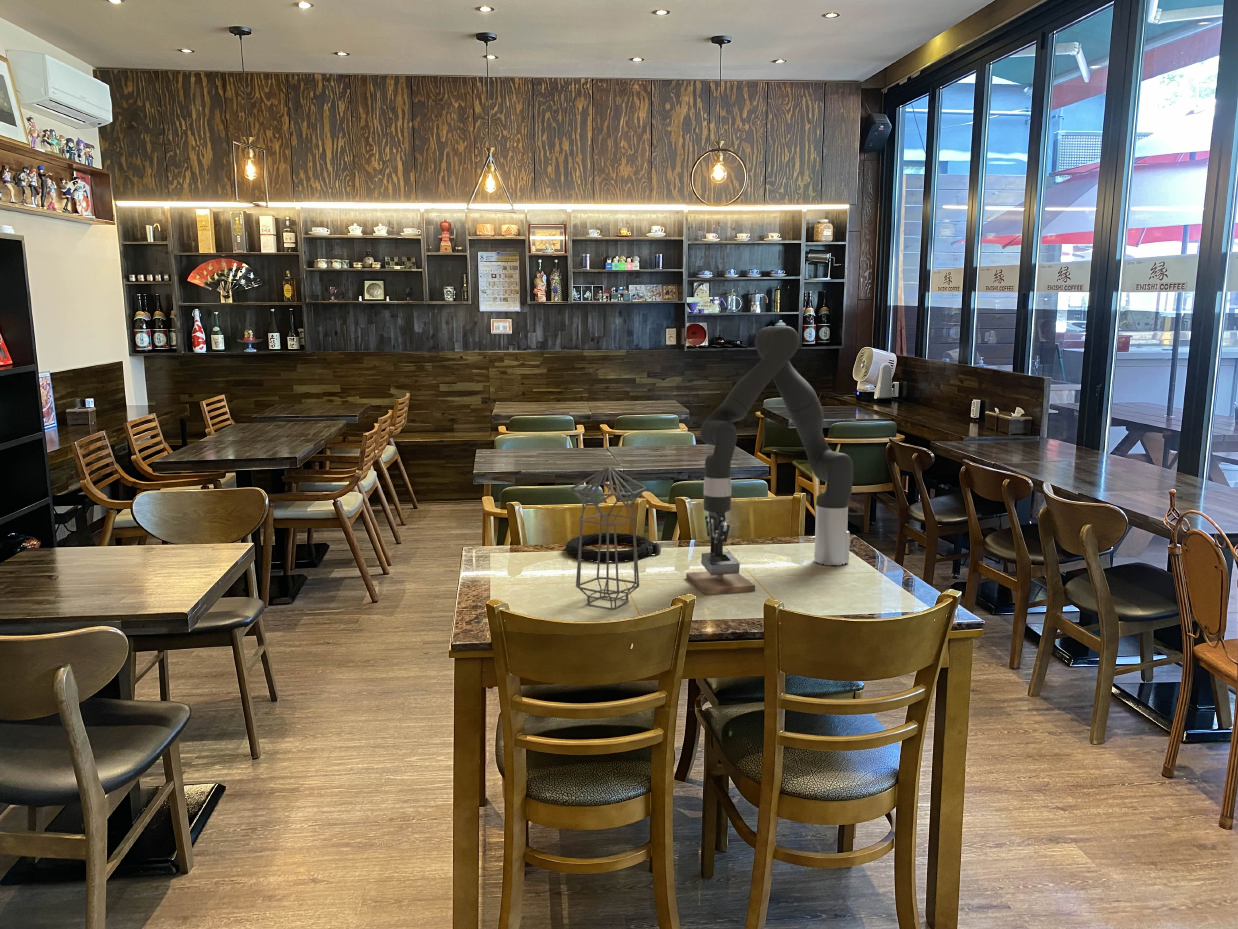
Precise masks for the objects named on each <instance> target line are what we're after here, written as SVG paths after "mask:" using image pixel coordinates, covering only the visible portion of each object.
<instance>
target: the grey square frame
mask: <svg viewBox="0 0 1238 929" xmlns="http://www.w3.org/2000/svg"><path fill="white" fill-rule="evenodd" d="M700 559H701V561H700V563H701V565H702V567H703V568H704V569H705V570H706V572H709V574H710V575H711V576H713V575H725V574H737V573H739V574H740V568H741V567H740V566H741V563H740V562H739V561H738V559H737V558H736V557H735V556H734V555H733V554H732V552H730V551H729V550H728V551H727V550H726V551H725V550H723V556H721V557H716V556H715V555H714V552H702V553H701V558H700Z"/></svg>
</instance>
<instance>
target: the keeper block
mask: <svg viewBox="0 0 1238 929" xmlns="http://www.w3.org/2000/svg"><path fill="white" fill-rule="evenodd" d="M685 574H686V575H685V576H686V577H685V578H686V579H687V580H688V581H689V582H690V583H691V584H692V585H693V586H695V587H696V589H698V590H699V591H700V592H701V593H703V594H704V595H718V594H731V593H732V594H733V593H744V592H745V593H747V592H756V585H755V583H753V582H751V581H750V580H749V579H747V578H746V577H745V576H743V575H742V574H740V572H739V573H737V574H725V575H713V576H711V575H710V574H709V572H708V571H696V572H686V573H685Z"/></svg>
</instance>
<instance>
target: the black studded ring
mask: <svg viewBox="0 0 1238 929" xmlns="http://www.w3.org/2000/svg"><path fill="white" fill-rule="evenodd" d="M579 539H580V535H578V536H576V537H574V538H571V539H570V540H568V541H567V543H566V544H565V551H566V553H567V555H569V556H570V555H571V556H570V557H572V558H575V557H577V558H576V559H578V552H579ZM616 539H617V544H620V543H626V544H625V545H627V544H631V545H630V546H633V534H631V533H630V534H629V533H623V532H622V533H617V532H616ZM602 544H607V532H601V545H602ZM609 544H615V542H614V532H609ZM584 545H586V546H591V545H599V533H597V532H595V533H591V534H582V548H581V559H585V560H584V561H588V560H593V561H598V550H597V549H590V548H583V547H585V546H584ZM636 546H638V547H637V560H639V559H638V558H640V559H642V558H641V557H643V558H645V557H647V556H648V557H651V556H653V555H652V554H655V555H654V556H657V555H658V554H660V555H661V553H662V545H661V543H658V542H653V541H651V540H649V539H648V538H647V537H644V536H641V535H638V534H636ZM656 553H657V554H656ZM617 559H618V561H624V562H626V561H625V560H630V561H634V560H633V559H634V547H633V548H629V549H617ZM593 561H592V562H593ZM600 561H607V550H601V549H600ZM609 561H615V550H609Z"/></svg>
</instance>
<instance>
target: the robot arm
mask: <svg viewBox="0 0 1238 929" xmlns="http://www.w3.org/2000/svg"><path fill="white" fill-rule="evenodd" d="M754 342H755V349H756V351H757V354H758V356H759V357H760V359H761V360H760V361H758V363H757V364H756V365H755V366H754V367H753V368H752V369H751V370H749V371H748V372H747V373H746V374H744V376H742V377H741V378H740V379H739V380H738V381H737V382H736V384H735V385H734V386H733V387H732V389H731V390H730V391H729V393H728V394H727V396H726V397H725V399H724V401H723V402H722V404H720V405H719V406H718V407H717V408H716V409H715V410H713V412H711V414H709V416H708V417H707V418H705V420H704V421H703V423H702V425H701V427H700V431H699V437H700V439H701V441H702V442H703V443H704V444H705V445H706V444H707V445H709V446H714V449H713V453H712V454H709V455H707V456H706V457H705V460H704V461H705V462H704V480H703V502H702V503H703V507H702V508H703V510H704V511H706V512H708V515H705V516H704V520H705V521H704V522H705V527H706V528H705V529H706V535H707V537H709V541H710V550H709V551H710V552H709V553H711V552H714V555H715V556H716V557H721V556H723V552H724V543H727V542H728V537H729V532H730V527H731V526H730V523H727V517H726V513H727V512H730V511H731V510H732V479H731V478H732V477H731V476H732V473H731V472H732V470H731V469H732V468H731V467H732V465H731V464H732V460H733V456H734V452H735V449H736V445H737V441H738V432H737V429H736V426H735V425H734V424H733V423H734V422H739V421H742V420H743V419H744V418H745V417H746V416H747V414H748V412H749V410H750V409H751V408H752V406H753V405H754V404H755V402H756V401H757V399H758V398H759V396H760V394H761V393H762V392H763V390H764V389H765V388H766V387H767V385H768V384H769V383H770V382H771V381H772V380H773V382H774V384H775V386H776V389H777V390H778V392H779V395H780V396H781V398H782V401H783V403H784V405H785V407H786V411H787V413H788V415H789V417H790V419H791V420H792V423H793V425H794V427H795V429H796V431H797V434H798V436H799V439H800V440H801V443H802V445H803V448H804V450H805V454H806V457H807V460H808V464H809V465H810V468H811V471H812V473H813V475H814V477H815V478H817V479H818V480H820V481H822V482H825V483H826V485H825V486H826V487H825V491H824V492H823V493H819V494H818V495H817V496H816V501H815V502H816V503H815V527H814V528H815V530H814V555H813V557H814V563H816V562H817V563H816V564H818V563H819V564H818V565H822V564H824V565H823V566H831V565H837V566H842V564H843V565H845V563H846V564H849V563H850V543H851V542H850V540H851V539H850V538H851V533H850V531H849V530H848V520H849V519H848V518H849V517H848V515H849V502H850V499H851V496H852V490H853V480H854V463H853V460H852V458H851V457H850V456H849V455H848V454H846V453H845V452H844V453H843V452H839V451H833V450H832V449H831V448H830V446H829V445H828V442H827V440H826V438H825V436H824V433H823V432H824V430H823V428H824V427H823V426H824V409H823V406H822V405H821V401H820V399H819V397H818V396H817V393H816V390H815V389H814V388H813V387H812V386H811V384H810V383H809V382H808V381H807V380H806V379H805V378H804V377H803V376H801V374H800V373H799V372H798V371H797V370H796V369H795V368H794V367H793V365H792V363H791V362H790V359H792V358H793V356H794V355H795V354H796V352H797V351H798V348H799V344H800V337H799V334H798V332H797V330H796V329H794V328H793V327H791V326H789V325H786V326H785V325H777V326H776V325H775V326H766V327H765V326H764V327H763V328H760V329H759V330H758V331H757V333H756V335H755V340H754Z"/></svg>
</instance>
